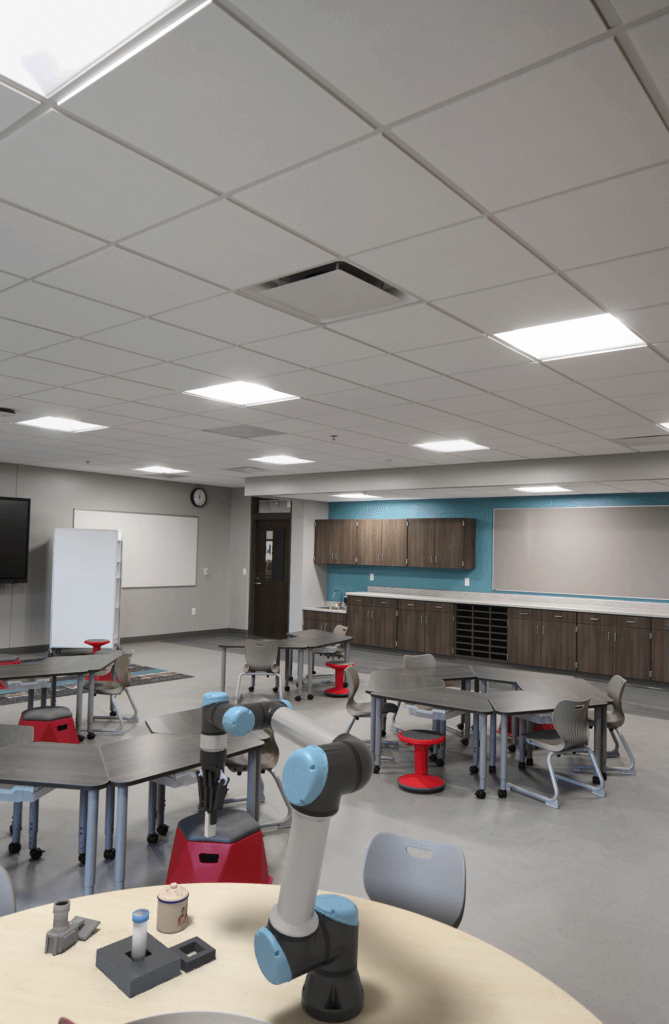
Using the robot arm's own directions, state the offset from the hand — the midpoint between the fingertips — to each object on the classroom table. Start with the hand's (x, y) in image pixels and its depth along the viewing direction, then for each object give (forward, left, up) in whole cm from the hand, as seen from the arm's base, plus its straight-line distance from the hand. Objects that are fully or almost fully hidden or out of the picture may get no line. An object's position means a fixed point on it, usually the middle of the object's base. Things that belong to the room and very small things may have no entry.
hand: (209, 835), depth 182 cm
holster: (-2, +6, -29) cm, 30 cm away
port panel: (+3, +19, -29) cm, 35 cm away
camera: (+28, +25, -30) cm, 48 cm away
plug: (+3, +19, -29) cm, 35 cm away
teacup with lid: (+17, 0, -30) cm, 34 cm away
